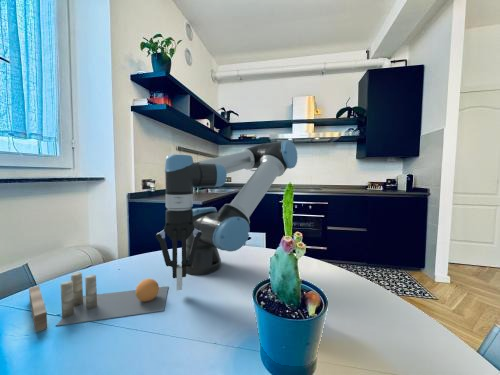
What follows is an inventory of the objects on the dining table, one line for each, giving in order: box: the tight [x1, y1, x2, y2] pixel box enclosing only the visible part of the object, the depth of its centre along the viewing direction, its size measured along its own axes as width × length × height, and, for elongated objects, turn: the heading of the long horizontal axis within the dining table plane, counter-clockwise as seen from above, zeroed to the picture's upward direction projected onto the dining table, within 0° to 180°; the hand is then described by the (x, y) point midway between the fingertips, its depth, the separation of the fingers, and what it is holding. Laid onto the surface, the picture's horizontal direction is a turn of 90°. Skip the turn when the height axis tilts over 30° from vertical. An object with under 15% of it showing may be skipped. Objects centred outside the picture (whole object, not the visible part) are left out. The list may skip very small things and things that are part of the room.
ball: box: [135, 278, 160, 302], centre depth 64 cm, size 6×6×6 cm
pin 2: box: [70, 272, 84, 306], centre depth 62 cm, size 2×2×8 cm
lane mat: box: [55, 286, 169, 327], centre depth 62 cm, size 24×13×1 cm, turn 105°
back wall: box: [28, 285, 48, 333], centre depth 57 cm, size 18×2×4 cm, turn 47°
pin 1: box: [60, 280, 74, 319], centre depth 57 cm, size 2×2×8 cm
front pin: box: [84, 274, 98, 309], centre depth 60 cm, size 2×2×8 cm
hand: (179, 287), depth 66 cm, fingers closed
